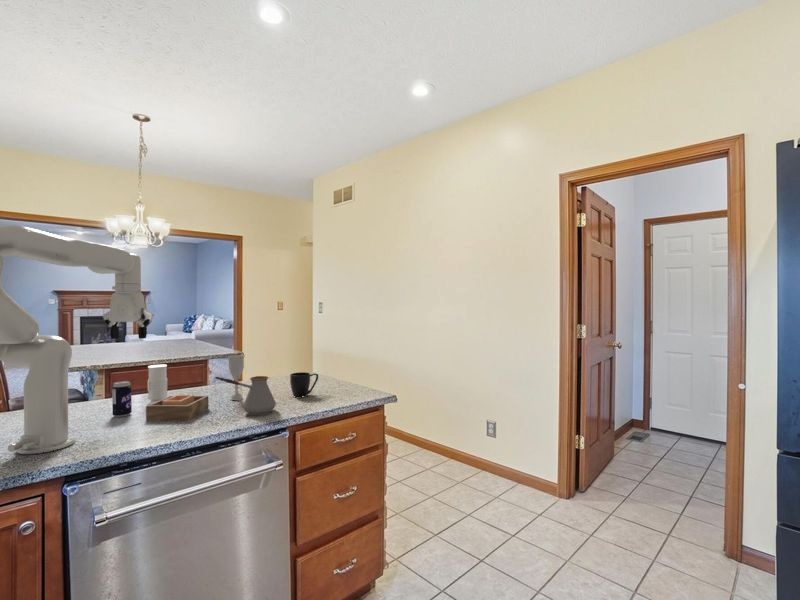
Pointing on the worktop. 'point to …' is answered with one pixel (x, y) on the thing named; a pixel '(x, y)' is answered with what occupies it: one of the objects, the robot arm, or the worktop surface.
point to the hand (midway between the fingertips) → (128, 338)
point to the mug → (301, 383)
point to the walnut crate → (176, 409)
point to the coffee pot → (256, 396)
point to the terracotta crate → (179, 400)
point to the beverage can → (121, 398)
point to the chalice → (236, 372)
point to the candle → (157, 383)
